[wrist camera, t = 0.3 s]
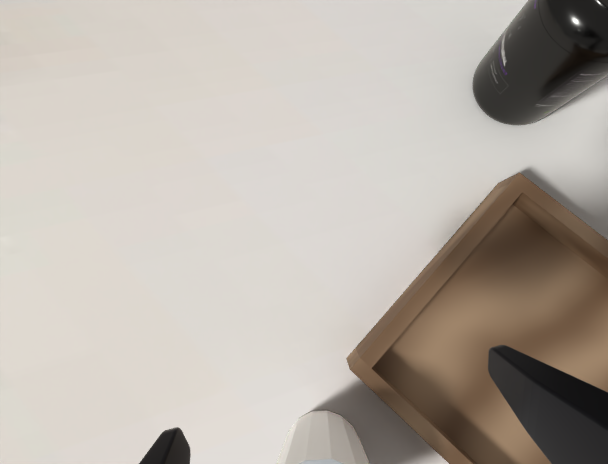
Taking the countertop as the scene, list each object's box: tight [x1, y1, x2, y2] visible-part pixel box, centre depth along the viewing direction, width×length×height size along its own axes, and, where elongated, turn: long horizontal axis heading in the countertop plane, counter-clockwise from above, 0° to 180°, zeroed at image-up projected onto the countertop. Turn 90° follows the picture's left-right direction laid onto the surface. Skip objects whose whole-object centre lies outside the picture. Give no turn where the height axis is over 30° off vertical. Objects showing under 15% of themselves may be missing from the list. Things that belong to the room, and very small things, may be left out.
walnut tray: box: [346, 173, 608, 464], centre depth 21 cm, size 18×18×2 cm
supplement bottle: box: [473, 0, 608, 125], centre depth 19 cm, size 7×7×12 cm
